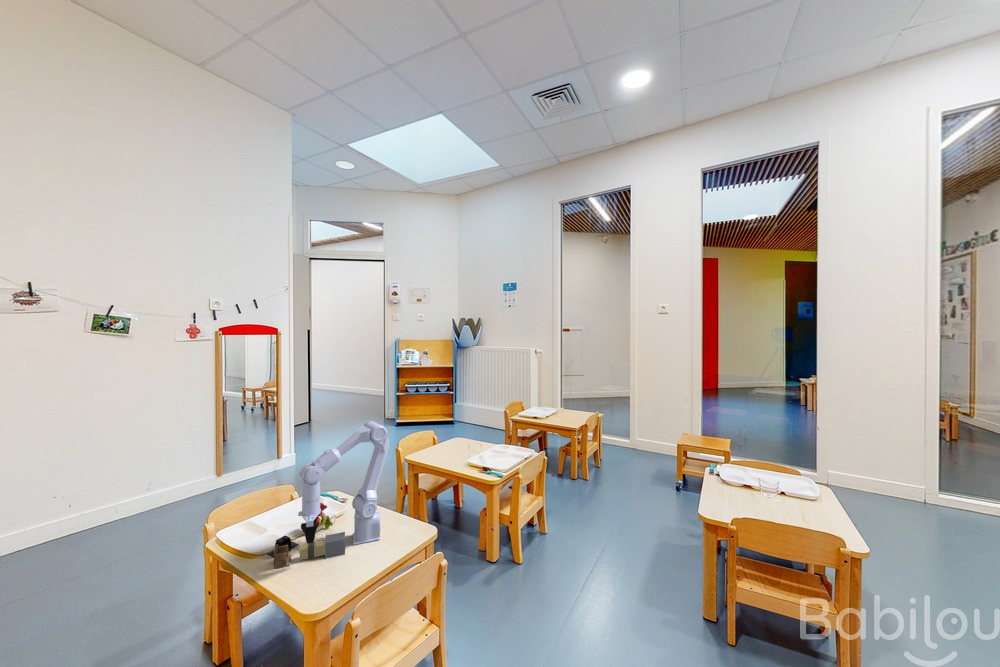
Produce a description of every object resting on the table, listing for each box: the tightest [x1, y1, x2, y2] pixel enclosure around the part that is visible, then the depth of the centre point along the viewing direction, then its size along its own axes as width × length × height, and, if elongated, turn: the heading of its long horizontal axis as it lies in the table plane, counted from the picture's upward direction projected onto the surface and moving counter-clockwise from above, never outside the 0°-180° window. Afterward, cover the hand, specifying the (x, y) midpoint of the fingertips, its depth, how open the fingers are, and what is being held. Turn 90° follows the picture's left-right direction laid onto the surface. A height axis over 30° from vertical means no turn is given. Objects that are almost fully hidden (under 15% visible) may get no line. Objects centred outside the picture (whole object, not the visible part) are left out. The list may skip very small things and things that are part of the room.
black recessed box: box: [265, 534, 300, 559], centre depth 139 cm, size 12×7×5 cm, turn 154°
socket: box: [273, 544, 292, 570], centre depth 131 cm, size 5×5×6 cm
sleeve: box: [324, 531, 346, 559], centre depth 138 cm, size 6×5×6 cm
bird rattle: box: [316, 502, 334, 533], centre depth 152 cm, size 6×11×9 cm
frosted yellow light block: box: [299, 539, 325, 561], centre depth 136 cm, size 14×4×4 cm, turn 113°
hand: (311, 536), depth 134 cm, fingers open, 7 cm apart
